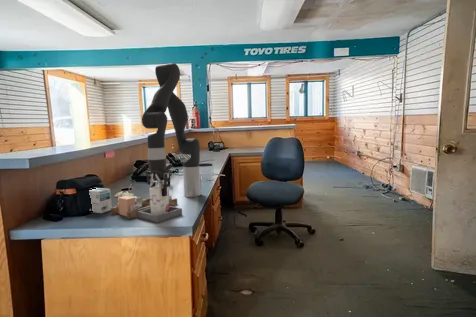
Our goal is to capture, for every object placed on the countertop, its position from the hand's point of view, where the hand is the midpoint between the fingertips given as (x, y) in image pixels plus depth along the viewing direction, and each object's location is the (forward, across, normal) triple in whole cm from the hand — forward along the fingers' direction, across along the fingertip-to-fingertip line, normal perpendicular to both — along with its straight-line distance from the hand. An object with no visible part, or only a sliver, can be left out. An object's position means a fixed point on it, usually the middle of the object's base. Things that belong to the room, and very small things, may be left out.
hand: (159, 195), depth 126 cm
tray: (+10, 0, 0) cm, 10 cm away
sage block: (+10, +16, -14) cm, 23 cm away
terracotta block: (+10, +16, +6) cm, 20 cm away
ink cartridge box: (+8, 0, 0) cm, 8 cm away
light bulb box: (+10, +34, +10) cm, 37 cm away
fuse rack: (+10, +16, -4) cm, 19 cm away
